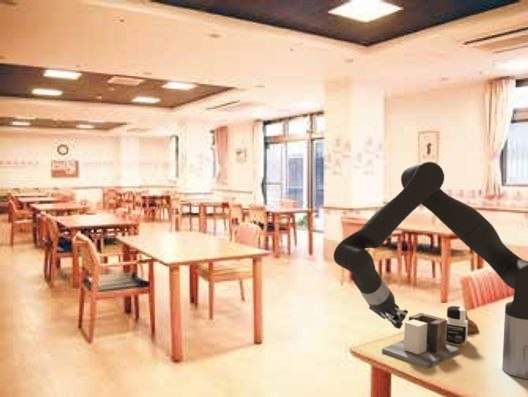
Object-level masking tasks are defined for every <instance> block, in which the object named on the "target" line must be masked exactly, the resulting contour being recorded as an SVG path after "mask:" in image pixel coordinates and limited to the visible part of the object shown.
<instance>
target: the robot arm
mask: <svg viewBox="0 0 528 397" xmlns="http://www.w3.org/2000/svg"><path fill="white" fill-rule="evenodd" d="M444 181H445V173H444V170H443V168H442V167H441V166H440V165H439V164H438V163H436V162H433V161H423V162H420V163H417V164H415V165H412V166H409V167H407V168H406V169H404V170H403V172H402V174H401V176H400V183H401V186H402V188H403V189H402V190H401V191H400V192H399V193H398V194H397V195H395V197H394V198H392V199H391V200H390V201H389V202H387V203H386V204H384V205H383V206H382V207H381V208H379V209H378V210H377V211H376V212H375V213H374V214H373V215H372V216H371V217H370V218H369V219H368V220H367V221H366V223H364V225H363V226H362V227H361V228H360V229H358V230H357V231H355V232H353V233H351V234H350V235H348V236H346V238H344V239H343V240H341V241H340V242H339V243H338V244H337V246H336V247H335V248H334V252H333V260H334V262H335V263H336V264H337V265H338V266H340V267H341V268H343V269H345V270H347V271H349V272H351V279H352V281H353V283H354V285H355V287H357V289H358V291H359V292H360V294H361V295H362V297H363V299H364V300H365V301H366V303H367V304H368V306H369V307H368V309H369V310H370V311H372V312H374V313H375V314H376V315H377V316H378V317H381V318H382V319H383V320H387V321H388V322H390V323H391V325H393V327H394V328H395V329H398V330H400V329H401V328H402V326H403V324H404V323H403V322H404V320H405V319H406V317H407V315H408V313H409V311H408V310H407V309H402V310H401V309H400V306H399V305H398V304H396V300H395V299H396V298H395V295H394V293H393V292H392V290H391V289H390V288H389V286H388V285H387V283H386V281H385V280H384V279H383V278H382V277H381V276H380V274H379V273H378V270H376V265H375V262H374V258H373V256H372V255H371V253H370V252H369V251H368V250H366V249H378V248H380V247H381V246H382V245H383V244H384V243H385V242H386V241H387V239H388V238H389V237H390V236H391V235H392V234H393V233H394V231H395V230H397V228H398V227H399V226H400V225H401V224H402V222H404V220H406V219H407V218H408V216H410V214H412V212H413V211H415V210H416V209H417V208H418V207H419V206H421V205H422V206H423V207H425V208H426V209H427V210H428V211H430V212H431V213H432V214H433V215H434V216H435V217H436V218H437V219H438V220H439V221H441V223H443V224H444V225H445V227H447V228H448V229H449V230H450V231H451V232H452V233H453V234H454V235H455V236H456V237H457V238H458V239H459V240H461V242H462V243H463V244H465V246H467V247H468V248H469V249H470V250H471V251H472V252H474V253H475V254H476V255H477V256H479V257H480V258H481V259H482V260H484V261H485V262H486V263H487V264H488V265H489V266H490V267H491V268H492V270H494V272H495V273H496V274H497V276H498V277H499V278H500V279H501V280H502V281H503V283H505V285H507V286H508V287H509V288H511V289H513V290H514V292H513V299H512V301H508V302H506V304H505V308H504V325H503V326H504V327H503V345H502V366H501V368H502V371H503V372H504V373H506V374H508V375H510V376H513V377H517V378H520V379H524V380H528V260H525V259H522V258H521V257H520V256H518V255H517V254H515V253H514V252H513V251H512V250H510V248H508V247H507V246H506V244H504V242H503V241H502V240H501V238H500V236H499V234H498V231H497V230H496V229H495V227H494V226H493V224H492V223H490V221H489V220H488V219H486V217H484V216H483V215H482V214H481V213H480V211H478V210H476V209H475V208H474V207H472V206H470V205H468V204H466V203H464V202H462V201H460V200H458V199H456V198H454V197H452V196H450V194H447V193H446V192H445V191H444V190H442V189H441V187H442V186H443V184H444Z"/></svg>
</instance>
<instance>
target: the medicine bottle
mask: <svg viewBox="0 0 528 397" xmlns="http://www.w3.org/2000/svg"><path fill="white" fill-rule="evenodd" d="M466 312H467V310H466V309H465V308H464V307H462V306H456V305H451V306H448V307H447V309H446V318H445V319H446V320H447V339H446V344H448V345H449V344H450V345H456V346H460V347H461V346H462V347H466V346H467V340H468V334H467V330H468V321H467V320H466Z"/></svg>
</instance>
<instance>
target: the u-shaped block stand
mask: <svg viewBox="0 0 528 397" xmlns="http://www.w3.org/2000/svg"><path fill="white" fill-rule="evenodd" d="M413 319H414V320H418V321H421V322H425V323H427V345H426V351H425V352H422V353H420V354H418V355H417V354H415V353H412V352H409V351H406V350H404V339H403V340H400V341H397V342H394V343H392V344H390V345H387V346H385V347H383V348H381V352H382V353H384V354H387V355H389V356H391V357H394V358H397V359H400V360H403V361H404V362H407V363H411V364H414V365H416V366H419V367H422V368H424V369H429V368H431V367H433V366H435V365H437V364H439V363H441V362H442V361H445V360H446V359H449V358H451V357H452V356H454V355H456V354H458V353H460V348H459V347H455V346H453V345H451V344H450V345H449V344H447V343H446V339H447V320H446V318H442V317H438V316H434V315H430V314H427V313H424V312H420V313H415V314H413V315H411V316H409V317H408V321H410V320H413Z"/></svg>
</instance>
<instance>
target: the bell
mask: <svg viewBox="0 0 528 397" xmlns="http://www.w3.org/2000/svg"><path fill="white" fill-rule="evenodd" d="M466 320H467V321H468V330H467V335H470V334H475V333H478V332H479V327H478V325H477V324H476V322H475V321H473V319H471V318H469V316H468V312H467V311H466Z"/></svg>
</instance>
